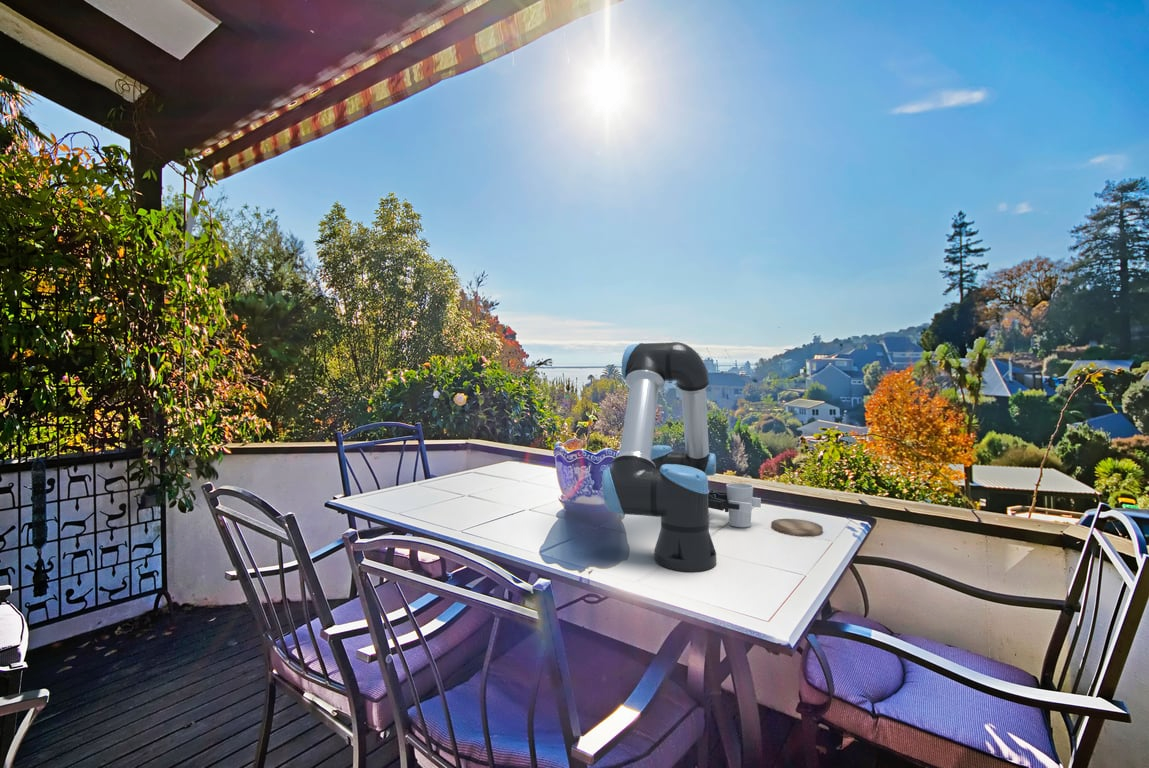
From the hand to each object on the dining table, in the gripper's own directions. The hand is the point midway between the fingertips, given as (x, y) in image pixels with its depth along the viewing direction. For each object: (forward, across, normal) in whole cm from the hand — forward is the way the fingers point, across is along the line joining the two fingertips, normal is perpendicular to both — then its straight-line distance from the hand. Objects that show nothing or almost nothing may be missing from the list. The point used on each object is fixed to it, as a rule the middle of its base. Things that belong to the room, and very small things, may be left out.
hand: (755, 505), depth 147 cm
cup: (-5, 0, -7) cm, 8 cm away
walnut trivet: (+10, -7, -7) cm, 14 cm away
